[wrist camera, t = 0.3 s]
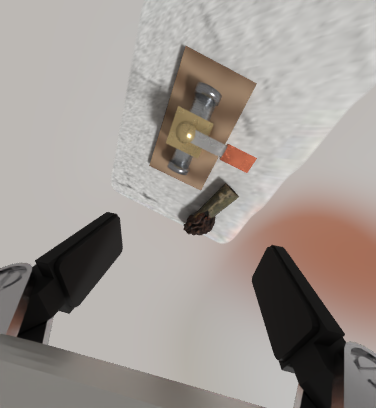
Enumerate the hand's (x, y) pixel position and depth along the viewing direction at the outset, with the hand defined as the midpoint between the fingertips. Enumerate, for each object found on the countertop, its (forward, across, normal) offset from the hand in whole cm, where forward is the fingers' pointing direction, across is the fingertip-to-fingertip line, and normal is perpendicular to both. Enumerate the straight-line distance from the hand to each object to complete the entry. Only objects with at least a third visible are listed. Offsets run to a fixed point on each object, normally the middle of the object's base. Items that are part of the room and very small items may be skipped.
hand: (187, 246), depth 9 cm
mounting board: (+30, +4, -8) cm, 31 cm away
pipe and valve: (+28, +4, -7) cm, 30 cm away
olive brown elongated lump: (+30, -4, +12) cm, 32 cm away
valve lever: (+21, -1, -6) cm, 21 cm away
